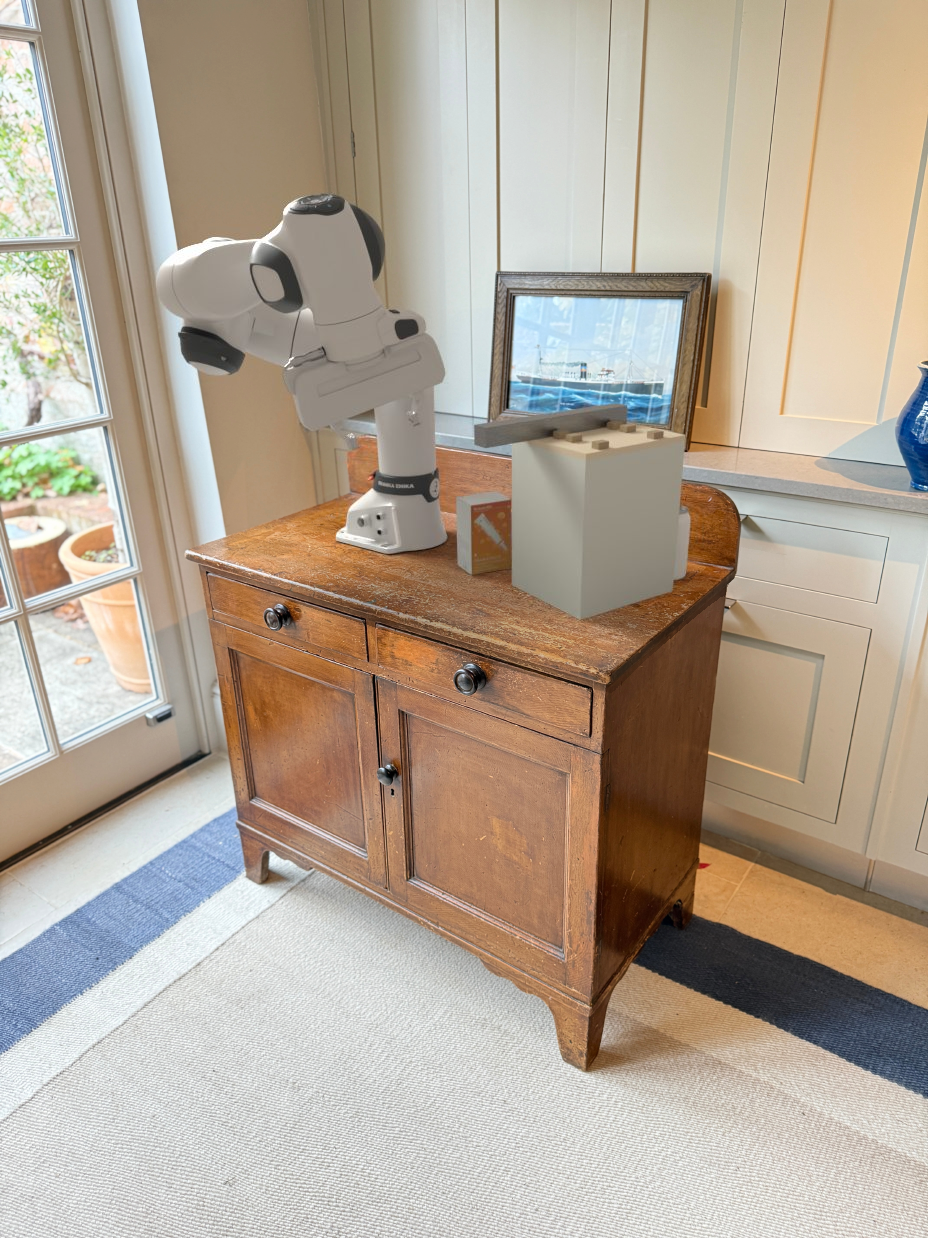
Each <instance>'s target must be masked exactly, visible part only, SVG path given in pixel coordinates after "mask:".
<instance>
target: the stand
mask: <svg viewBox="0 0 928 1238" xmlns="http://www.w3.org/2000/svg"><path fill="white" fill-rule="evenodd" d="M685 446H686V434H682V433H679V432H675V431H670V430H665V429H660V428H656V427H650V426H646V425H642V424H637V423H633V422H628V421H627V424H624V425H623V422H620V421H612V422H607V427H606V428H600V429H595V430H589V431H583V432H577V433H571V434H570V431H566V430H559V431H553V437H548V438H542V439H537V440H531V441H525V442H519V443H513V444H511V512H512V550H511V586H513V587H515V588H516V589H518V590H520V591H522V592H524V593H526V594H528V595H530V596H532V597H534V598H536V599H538V600H540V601H542V602H544V603H546V604H548V605H550V606H552V607H554V608H556V609H557V610H558V611H559V610H560V612H561V611H562V612H563V613H564V614H568V615H569V616H571V617H573V618H575V619H576V620H579V621H583V620H586V619H588V618H592V617H594V616H597V615H600V614H604V613H608V612H610V611H611V612H612V611H613V610H617V609H620V608H624V607H627V606H630V605H633V604H637V603H639V602H642V601H643V602H644V601H646V600H648V599H652V598H655V597H658V596H661V595H665V594H668V593H671V592H673V591H674V589H673V588H674V581H673V580H674V568H675V556H676V544H677V532H678V520H679V508H680V505H681V494H682V483H683V482H682V481H683V471H684V460H685V459H684V457H685V449H686V448H685Z"/></svg>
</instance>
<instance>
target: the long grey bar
mask: <svg viewBox="0 0 928 1238" xmlns="http://www.w3.org/2000/svg"><path fill="white" fill-rule="evenodd" d="M627 419H628V405H626V404H622V403H616V402H614V403H612V402H611V403H605V404H600V405H593V406H588V407H581V408H580V407H579V408H575V409H567V410H561V411H555V412H547V413H542V414H535V415H528V416H522V417H516V418H509V419H503V420H497V421H491V422H490V421H489V422H483V423H475V424H474V425H473V430H474V431H473V438H474V440H473V441H474V446H477V447H481V448H483V449H489V448H496V447H501V446H508V445H512V444H513V443H519V442H525V441H531V440H537V439H542V438H548V437H553V431H559V430H566V431H570V434H571V433H577V432H583V431H589V430H595V429H600V428H606V427H607V422H612V421H620V422H623V425H624V424H627V422H628V420H627Z"/></svg>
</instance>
